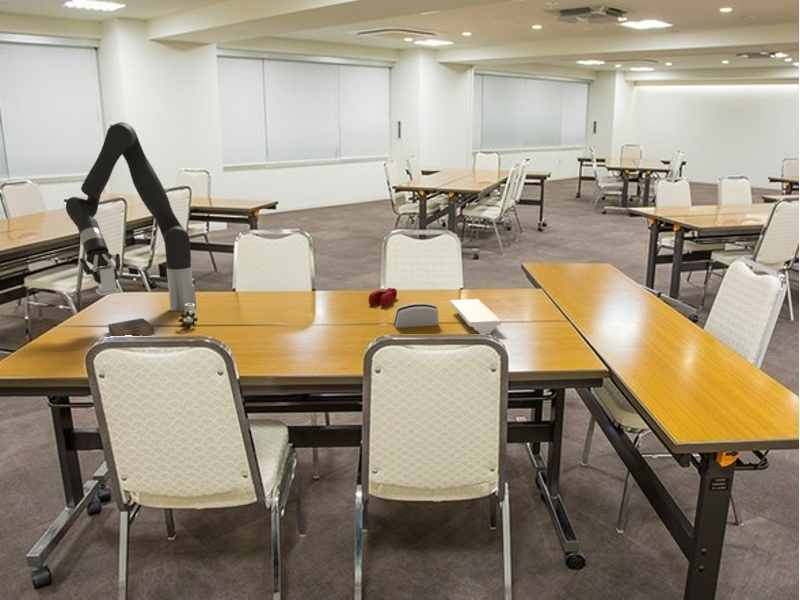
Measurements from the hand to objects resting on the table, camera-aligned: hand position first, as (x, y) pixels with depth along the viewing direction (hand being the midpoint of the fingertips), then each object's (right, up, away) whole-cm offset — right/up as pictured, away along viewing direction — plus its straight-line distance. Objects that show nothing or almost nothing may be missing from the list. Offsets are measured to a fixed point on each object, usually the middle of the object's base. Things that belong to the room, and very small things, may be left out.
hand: (107, 280), depth 229 cm
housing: (-1, -4, +3) cm, 5 cm away
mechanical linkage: (+99, -8, +40) cm, 107 cm away
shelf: (+132, -16, +13) cm, 134 cm away
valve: (+26, -16, +10) cm, 33 cm away
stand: (+9, -19, -1) cm, 21 cm away
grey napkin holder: (+111, -17, +9) cm, 112 cm away
